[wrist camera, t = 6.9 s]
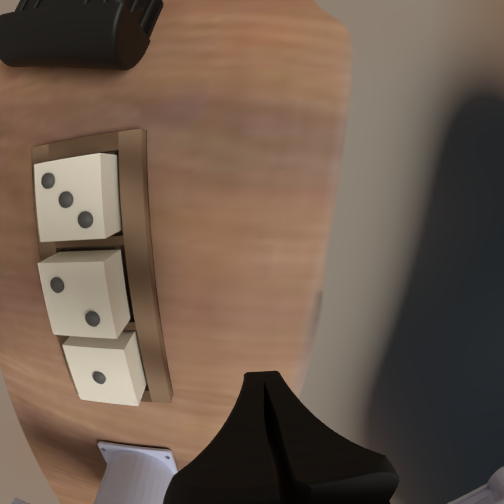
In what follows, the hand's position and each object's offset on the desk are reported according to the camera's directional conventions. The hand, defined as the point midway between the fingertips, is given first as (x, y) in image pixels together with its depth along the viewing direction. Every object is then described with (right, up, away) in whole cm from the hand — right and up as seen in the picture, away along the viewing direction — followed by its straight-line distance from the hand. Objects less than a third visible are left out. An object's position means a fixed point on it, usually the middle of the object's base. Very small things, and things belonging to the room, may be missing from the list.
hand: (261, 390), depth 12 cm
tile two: (-11, +3, +8) cm, 14 cm away
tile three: (-12, +9, +7) cm, 17 cm away
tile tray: (-12, +4, +9) cm, 15 cm away
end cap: (-12, +22, +5) cm, 25 cm away
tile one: (-11, -3, +10) cm, 16 cm away
